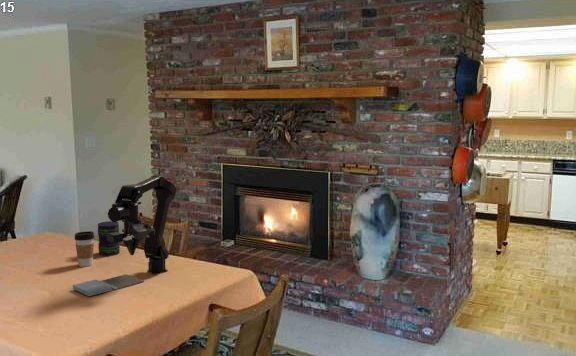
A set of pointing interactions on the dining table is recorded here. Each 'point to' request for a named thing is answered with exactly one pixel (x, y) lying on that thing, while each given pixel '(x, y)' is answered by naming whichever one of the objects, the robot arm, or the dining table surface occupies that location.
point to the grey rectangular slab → (92, 287)
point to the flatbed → (122, 281)
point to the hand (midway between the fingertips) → (132, 255)
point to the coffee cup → (84, 248)
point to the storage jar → (106, 246)
